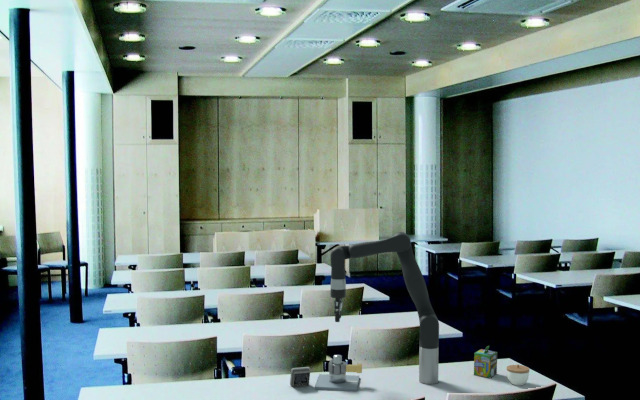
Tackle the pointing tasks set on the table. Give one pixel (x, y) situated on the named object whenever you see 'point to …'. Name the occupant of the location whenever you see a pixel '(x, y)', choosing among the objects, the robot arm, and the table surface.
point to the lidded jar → (517, 374)
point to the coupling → (344, 368)
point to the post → (337, 377)
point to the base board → (349, 385)
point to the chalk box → (485, 363)
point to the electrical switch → (300, 377)
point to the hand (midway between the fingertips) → (338, 320)
